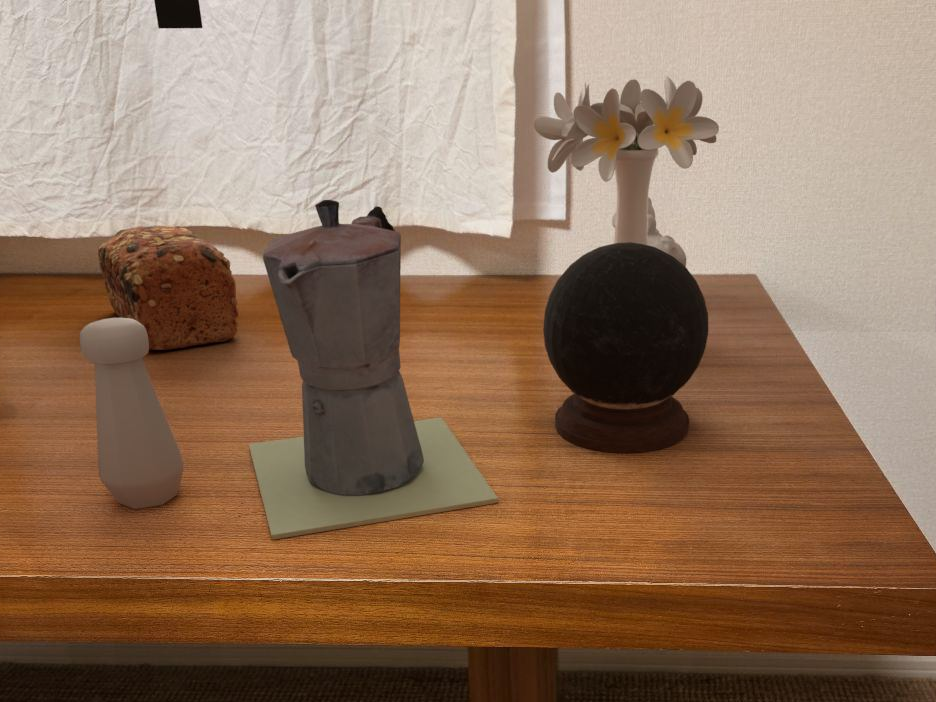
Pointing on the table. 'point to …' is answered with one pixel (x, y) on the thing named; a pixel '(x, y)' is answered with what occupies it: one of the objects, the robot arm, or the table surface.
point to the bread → (170, 285)
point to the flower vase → (628, 141)
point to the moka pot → (347, 350)
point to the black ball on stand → (625, 347)
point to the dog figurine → (660, 237)
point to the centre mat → (313, 510)
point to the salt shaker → (130, 417)
